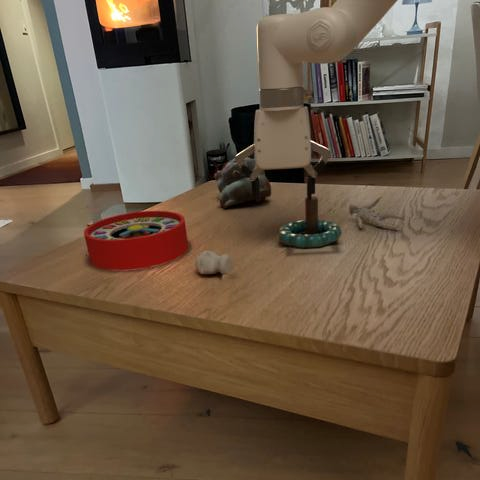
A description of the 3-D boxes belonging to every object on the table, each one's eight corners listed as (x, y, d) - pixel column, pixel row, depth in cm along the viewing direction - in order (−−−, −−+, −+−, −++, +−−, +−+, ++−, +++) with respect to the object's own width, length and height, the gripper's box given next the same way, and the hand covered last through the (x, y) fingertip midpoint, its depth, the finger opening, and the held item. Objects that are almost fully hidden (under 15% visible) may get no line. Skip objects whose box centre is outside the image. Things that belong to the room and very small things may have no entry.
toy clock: (129, 208, 107) (203, 213, 98) (134, 233, 110) (206, 241, 101) (61, 235, 92) (141, 245, 83) (69, 263, 95) (147, 276, 85)
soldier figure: (387, 240, 95) (337, 215, 100) (389, 248, 100) (341, 224, 105) (409, 207, 95) (358, 184, 100) (410, 218, 100) (361, 195, 105)
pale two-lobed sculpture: (193, 278, 86) (213, 262, 88) (220, 289, 80) (241, 271, 82) (184, 258, 83) (205, 242, 85) (211, 268, 78) (233, 251, 80)
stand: (332, 236, 97) (333, 191, 93) (337, 251, 89) (338, 202, 85) (288, 238, 98) (287, 193, 94) (289, 253, 90) (288, 205, 86)
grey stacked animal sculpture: (211, 210, 122) (200, 157, 122) (230, 216, 133) (220, 168, 133) (265, 192, 116) (253, 137, 116) (280, 200, 127) (269, 150, 127)
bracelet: (336, 227, 98) (336, 216, 97) (344, 247, 87) (345, 234, 86) (278, 231, 99) (277, 220, 98) (279, 251, 88) (278, 238, 87)
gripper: (330, 95, 84) (327, 192, 92) (233, 101, 86) (239, 196, 94) (334, 97, 78) (331, 202, 86) (229, 104, 79) (236, 206, 87)
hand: (283, 199), depth 90 cm, fingers open, 9 cm apart
